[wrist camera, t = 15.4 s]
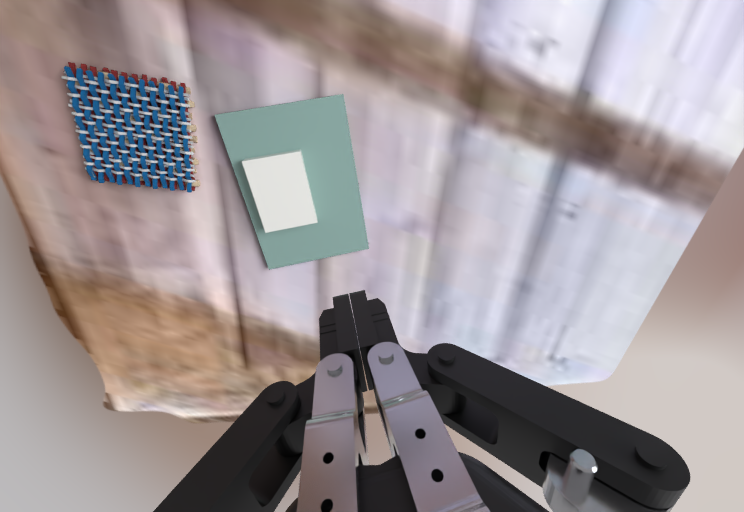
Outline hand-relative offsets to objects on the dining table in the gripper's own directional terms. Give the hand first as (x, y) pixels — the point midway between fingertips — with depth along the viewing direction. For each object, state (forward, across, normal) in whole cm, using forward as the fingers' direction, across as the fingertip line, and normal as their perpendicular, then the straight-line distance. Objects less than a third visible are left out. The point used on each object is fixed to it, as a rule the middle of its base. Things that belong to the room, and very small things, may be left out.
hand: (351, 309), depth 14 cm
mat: (+25, +3, 0) cm, 25 cm away
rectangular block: (+23, +5, +4) cm, 24 cm away
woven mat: (+25, +17, -8) cm, 32 cm away
